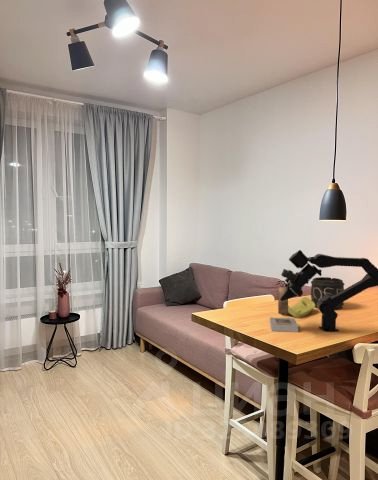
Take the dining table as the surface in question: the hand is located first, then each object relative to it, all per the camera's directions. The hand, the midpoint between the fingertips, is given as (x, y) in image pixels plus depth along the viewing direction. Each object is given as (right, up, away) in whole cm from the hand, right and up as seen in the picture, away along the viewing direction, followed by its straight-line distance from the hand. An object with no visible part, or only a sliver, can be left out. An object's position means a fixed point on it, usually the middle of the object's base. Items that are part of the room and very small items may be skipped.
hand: (280, 299), depth 167 cm
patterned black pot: (+37, -11, +40) cm, 55 cm away
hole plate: (+2, -13, +1) cm, 13 cm away
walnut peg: (+1, -7, 0) cm, 7 cm away
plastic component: (+17, -12, +25) cm, 32 cm away
